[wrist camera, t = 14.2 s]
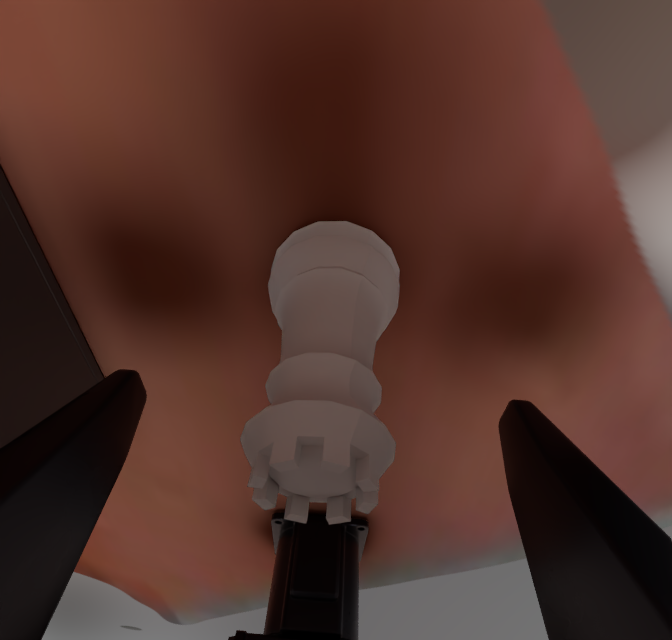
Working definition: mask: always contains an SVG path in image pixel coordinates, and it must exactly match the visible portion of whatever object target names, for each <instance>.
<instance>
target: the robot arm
mask: <svg viewBox="0 0 672 640" xmlns="http://www.w3.org/2000/svg"><path fill="white" fill-rule="evenodd" d="M146 398H147V395H146V390H145V388H144V385H143V383H142V380H141V378H140V375H139V373H138V372H137V371H135V370H125V369H120V370H117V371H115V372H114V373H112V374H111V375H109V376H108V377H106V378H105V379H103V380H102V381H100V382H99V383H97V384H96V385H94V386H93V387H91V388H90V389H88V390H87V391H85V392H84V393H82V394H81V395H79V396H78V397H76V398H75V399H73V400H72V401H70V402H69V403H67V404H66V405H64V406H63V407H61V408H60V409H58V410H57V411H55V412H54V413H53V414H51V415H50V416H48V417H47V418H45V419H44V420H42V421H41V422H39V423H38V424H36V425H35V426H33V427H32V428H30V429H29V430H27V431H26V432H24V433H23V434H21V435H20V436H18V437H17V438H15V439H14V440H12V441H11V442H9V443H8V444H6V445H5V446H3V447H2V448H0V640H41V639H42V637H43V635H44V633H45V631H46V629H47V627H48V625H49V622H50V620H51V618H52V616H53V614H54V612H55V610H56V608H57V605H58V603H59V601H60V599H61V597H62V595H63V592H64V590H65V588H66V586H67V584H68V582H69V580H70V578H71V575H72V573H73V571H74V569H75V567H76V565H77V563H78V561H79V559H80V556H81V554H82V552H83V550H84V548H85V546H86V544H87V542H88V539H89V537H90V535H91V533H92V531H93V529H94V527H95V525H96V522H97V520H98V518H99V516H100V514H101V512H102V510H103V507H104V505H105V503H106V501H107V499H108V497H109V495H110V493H111V490H112V488H113V486H114V484H115V482H116V480H117V478H118V476H119V473H120V471H121V469H122V467H123V465H124V462H125V460H126V457H127V455H128V452H129V449H130V446H131V444H132V441H133V438H134V435H135V432H136V429H137V426H138V423H139V420H140V417H141V414H142V411H143V409H144V406H145V403H146ZM499 434H500V441H501V447H502V453H503V460H504V466H505V473H506V479H507V485H508V490H509V494H510V498H511V502H512V506H513V510H514V513H515V517H516V521H517V524H518V528H519V532H520V535H521V539H522V543H523V546H524V550H525V554H526V557H527V561H528V565H529V568H530V572H531V576H532V579H533V583H534V587H535V590H536V594H537V598H538V601H539V605H540V608H541V613H542V616H543V620H544V624H545V627H546V631H547V634H548V638H549V640H672V541H671V538H670V537H669V536H668V535H667V534H666V533H665V532H664V531H663V530H662V529H661V528H660V527H659V526H658V525H657V524H656V523H655V522H654V521H653V520H652V519H651V518H649V517H648V516H647V515H646V514H645V513H644V512H643V511H642V510H641V509H640V508H639V507H638V506H637V505H636V504H635V503H634V502H633V501H632V500H631V499H630V498H629V497H628V496H627V495H626V494H625V493H624V492H623V491H622V490H621V489H620V488H619V487H618V486H617V485H616V484H615V483H614V482H612V481H611V480H610V479H609V478H608V477H607V476H606V475H605V474H604V473H603V472H602V471H601V470H600V469H599V468H598V467H597V466H596V465H595V464H594V463H593V462H592V461H591V460H590V459H589V458H588V457H587V456H586V455H585V454H584V453H583V452H582V451H581V450H580V449H579V448H578V447H577V446H576V445H574V444H573V443H572V442H571V441H570V440H569V439H568V438H567V437H566V436H565V435H564V434H563V433H562V432H561V431H560V430H559V429H558V428H557V427H556V426H555V425H554V424H553V423H552V422H551V421H550V420H549V419H548V418H547V417H546V416H545V415H544V414H543V413H542V412H541V411H540V410H539V409H537V408H536V407H535V406H534V405H533V404H532V403H531V402H529V401H526V400H511V401H510V402H509V403H508V405H507V407H506V409H505V411H504V413H503V415H502V416H501V418H500V421H499ZM284 514H285V513H274V514H273V515H272V520H271V525H272V533H273V541H274V549H275V554H276V559H275V565H274V572H273V578H272V584H271V591H270V597H269V603H268V610H267V616H266V622H265V628H264V634H252V633H247V632H246V631H238V630H237V631H236V635H235V636H232V637H229V639H228V640H358V590H359V562H360V561H361V557H362V553H363V549H364V546H365V542H366V538H367V534H368V530H369V525H368V521H366V520H363V519H352V518H351V521H350V522H343V523H337V524H330V525H329V523H328V521H327V519H326V516H314V515H308V518H307V522H306V524H305V523H301V522H296V521H292V520H287V519H284Z"/></svg>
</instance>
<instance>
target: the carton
mask: <svg viewBox="0 0 672 640" xmlns="http://www.w3.org/2000/svg"><path fill="white" fill-rule="evenodd" d="M103 379H104V378H103V376H102V374H101V372H100V370H99V368H98V366H97V363H96V361H95V359H94V357H93V355H92V353H91V351H90V349H89V347H88V345H87V343H86V341H85V339H84V337H83V335H82V333H81V331H80V329H79V327H78V325H77V323H76V321H75V319H74V317H73V315H72V313H71V310H70V308H69V306H68V304H67V302H66V300H65V298H64V296H63V294H62V292H61V290H60V288H59V286H58V284H57V282H56V280H55V278H54V276H53V274H52V272H51V270H50V268H49V266H48V264H47V262H46V259H45V257H44V255H43V253H42V251H41V249H40V247H39V245H38V243H37V241H36V239H35V237H34V235H33V233H32V231H31V229H30V227H29V225H28V223H27V221H26V219H25V217H24V215H23V213H22V211H21V209H20V206H19V204H18V202H17V200H16V198H15V196H14V194H13V192H12V190H11V188H10V186H9V184H8V182H7V180H6V178H5V176H4V174H3V172H2V170H1V168H0V448H2V447H3V446H5V445H6V444H8V443H9V442H11V441H12V440H14V439H15V438H17V437H18V436H20V435H21V434H23V433H24V432H26V431H27V430H29V429H30V428H32V427H33V426H35V425H36V424H38V423H39V422H41V421H42V420H44V419H45V418H47V417H48V416H50V415H51V414H53V413H54V412H55V411H57V410H58V409H60V408H61V407H63V406H64V405H66V404H67V403H69V402H70V401H72V400H73V399H75V398H76V397H78V396H79V395H81V394H82V393H84V392H85V391H87V390H88V389H90V388H91V387H93V386H94V385H96V384H97V383H99V382H100V381H102V380H103Z"/></svg>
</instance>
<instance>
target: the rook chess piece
mask: <svg viewBox="0 0 672 640" xmlns="http://www.w3.org/2000/svg"><path fill="white" fill-rule="evenodd" d="M399 274H400V269H399V267H398V264H397V262H396V259H395V257H394V254H393V252H392V249H391V248H390V247H389V246H388V245H387V244H386V243H385V242H384V241H383V240H382V239H381V238H380V237H378V236H377V235H376V234H375V233H374V232H373V231H372V230H369V229H366V228H364V227H361V226H358V225H356V224H353V223H350V222H348V221H318V222H316V223H313V224H311V225H308V226H306V227H304V228H301V229H299V230H296V231H294V232H293V233H292V234H291V235H290V236H289V237H288V238H287V239H286V240H285V241H284V243H283V244H282V245H281V246H280V247H279V248H278V249H277V252H276V255H275V258H274V261H273V265H272V268H271V276H270V279H269V283H268V290H269V296H270V301H271V307H272V312H273V314H274V315H275V317H276V318H277V322H278V325H279V327H280V328H281V330H282V344H281V359H280V363H279V365H278V366H277V367H275V368H274V369H273V370H272V371H271V372H270V375H269V377H268V380H267V382H266V385H265V387H266V391H267V396H268V400H269V402H270V403H271V405H269V406H267V407H266V408H265V409H263V410H262V411H260V412H259V413H258V414H256V415H255V416H254V417H252V418H251V419H250V420H248V421H247V422H246V424H245V427H244V430H243V432H242V435H241V438H240V441H241V444H242V447H243V450H244V453H245V456H246V458H247V460H248V461H249V463H250V465H251V467H252V469H251V473H250V477H249V481H248V486H247V487H253V488H254V492H253V496H252V500H253V501H254V502H256V503H257V504H258V505H259V506H260V507H261V508H263V509H264V510H268V509H271V508H274V507H275V506H276V501H277V495H278V493H280V494H282V495H284V496H286V497H287V501H286V508H285V514H284V519H287V520H292V521H296V522H301V523H305V524H306V522H307V518H308V510H309V502H323V503H327V511H326V519H327V521H328V523H329V525H330V524H337V523H343V522H350V521H351V499H353V498H355V497H356V510H357V511H360V512H363V513H366V514H369V513H370V512H371V511H372V510H373V509H374V508H375V507H376V506H377V505H378V491H379V479H380V477H381V476H382V475H383V474H384V472H385V471H386V470H387V469H388V467H389V466H390V465H391V464H392V462H393V461H394V457H395V448H396V442H395V441H394V439H393V437H392V436H391V434H390V432H389V431H388V429H387V427H386V426H385V424H384V423H382V422H381V421H380V420H379V419H378V418H377V417H376V416H375V415H374V414H373V413H374V412H375V410H376V409H377V408H378V406H379V405H380V403H381V393H382V387H381V385H380V384H379V382H378V380H377V378H376V376H375V375H374V373H373V368H372V366H373V360H374V353H375V347H376V341H378V339H379V338H380V336H381V334H382V333H383V331H385V329H386V328H387V326H388V324H389V323H390V321H391V320H392V318H393V316H394V315H395V313H396V310H397V307H398V300H399V288H400V284H399Z"/></svg>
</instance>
